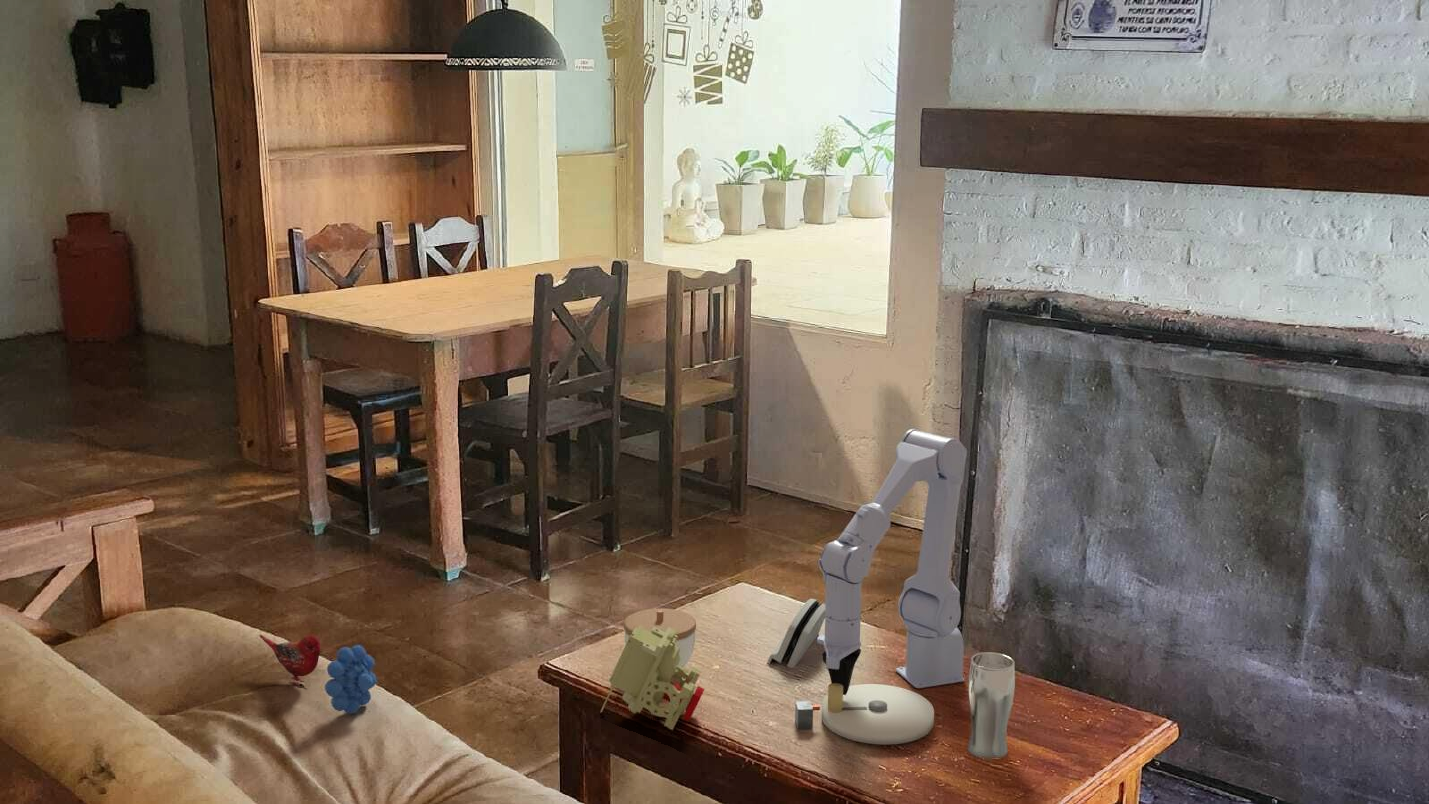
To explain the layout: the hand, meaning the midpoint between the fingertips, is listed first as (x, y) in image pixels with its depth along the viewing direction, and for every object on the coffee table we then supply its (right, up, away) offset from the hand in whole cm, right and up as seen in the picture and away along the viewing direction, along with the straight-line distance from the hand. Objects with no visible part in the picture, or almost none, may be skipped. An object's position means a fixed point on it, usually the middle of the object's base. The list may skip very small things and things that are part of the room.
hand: (840, 692), depth 218 cm
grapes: (-79, -4, -1) cm, 79 cm away
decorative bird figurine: (-93, -1, +12) cm, 94 cm away
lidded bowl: (-30, 0, +17) cm, 35 cm away
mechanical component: (-28, -4, -1) cm, 28 cm away
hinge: (-5, +2, +26) cm, 27 cm away
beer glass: (+22, -7, -11) cm, 25 cm away
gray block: (-6, -5, -3) cm, 8 cm away
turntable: (+6, -4, -2) cm, 8 cm away
